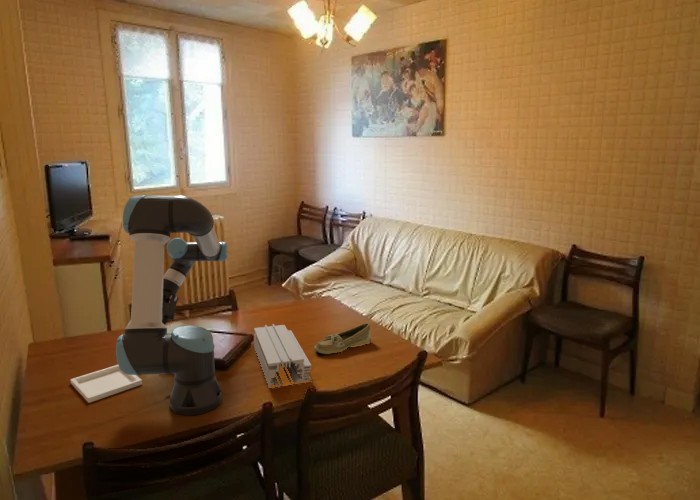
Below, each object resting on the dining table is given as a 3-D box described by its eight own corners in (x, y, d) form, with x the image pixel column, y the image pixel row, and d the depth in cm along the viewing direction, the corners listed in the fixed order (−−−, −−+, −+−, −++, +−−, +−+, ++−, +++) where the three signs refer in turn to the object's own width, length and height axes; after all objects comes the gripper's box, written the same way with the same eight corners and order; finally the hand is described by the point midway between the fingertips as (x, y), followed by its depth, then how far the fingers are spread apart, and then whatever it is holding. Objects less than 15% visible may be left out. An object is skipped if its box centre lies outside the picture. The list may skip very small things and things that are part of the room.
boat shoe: (309, 351, 184) (309, 332, 182) (357, 335, 199) (357, 317, 198) (325, 360, 177) (325, 340, 175) (373, 343, 192) (374, 325, 191)
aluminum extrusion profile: (291, 345, 188) (291, 322, 186) (311, 383, 160) (311, 355, 158) (254, 350, 184) (253, 326, 181) (268, 389, 156) (268, 361, 153)
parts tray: (142, 387, 155) (141, 380, 154) (88, 405, 144) (88, 398, 143) (122, 370, 166) (122, 363, 165) (71, 386, 154) (70, 379, 154)
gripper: (199, 292, 188) (171, 341, 179) (155, 282, 200) (127, 328, 190) (188, 283, 182) (158, 333, 173) (143, 273, 194) (113, 319, 185)
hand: (141, 330), depth 182 cm, fingers open, 13 cm apart
